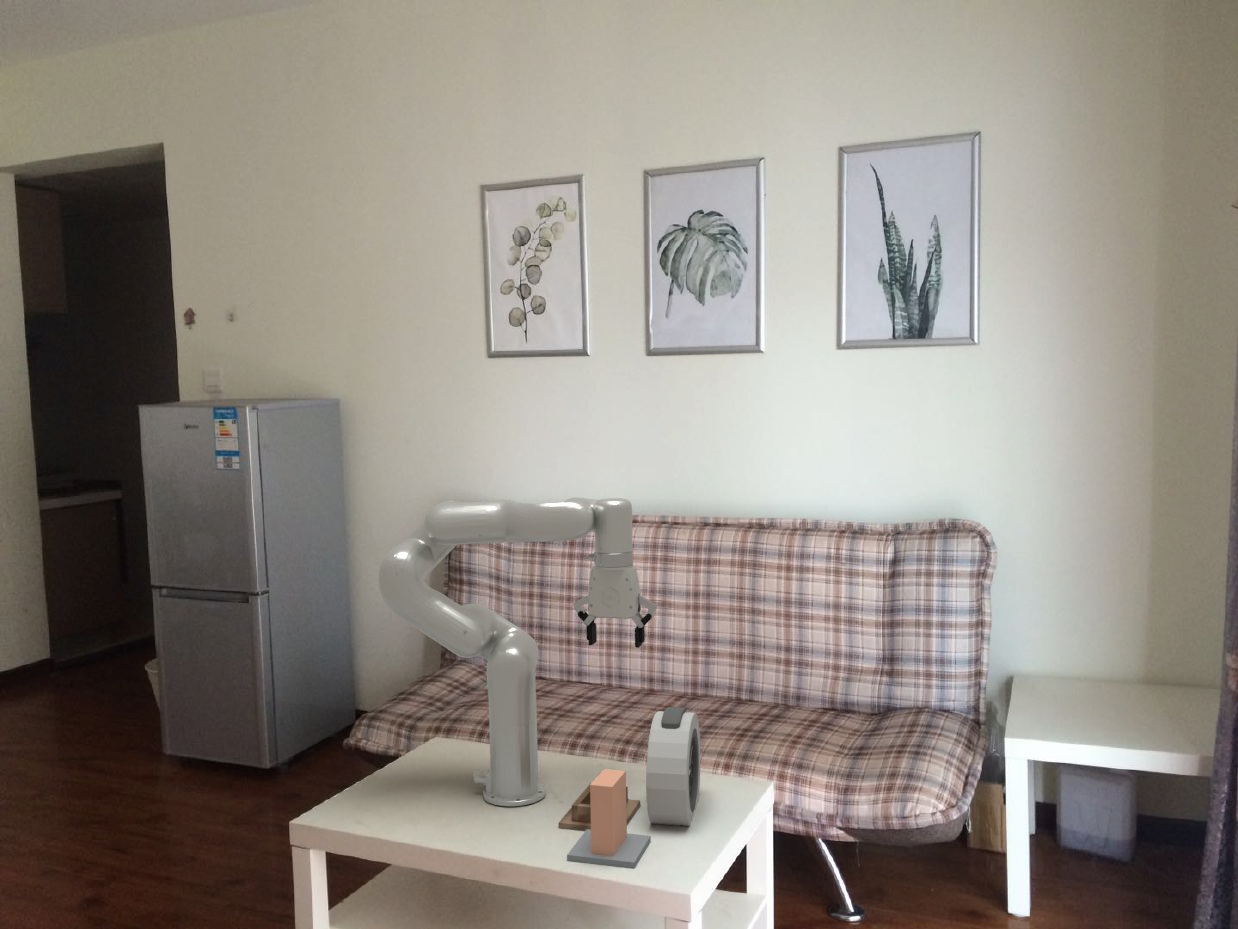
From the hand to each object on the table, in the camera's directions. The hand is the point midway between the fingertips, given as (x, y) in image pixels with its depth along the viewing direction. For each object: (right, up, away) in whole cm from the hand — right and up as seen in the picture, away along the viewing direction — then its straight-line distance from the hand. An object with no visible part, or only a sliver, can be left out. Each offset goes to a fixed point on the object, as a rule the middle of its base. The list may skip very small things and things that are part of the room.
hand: (615, 645), depth 199 cm
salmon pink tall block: (-1, -31, -25) cm, 40 cm away
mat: (-1, -32, -25) cm, 40 cm away
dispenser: (-3, -31, -10) cm, 33 cm away
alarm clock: (+12, -31, -8) cm, 34 cm away
